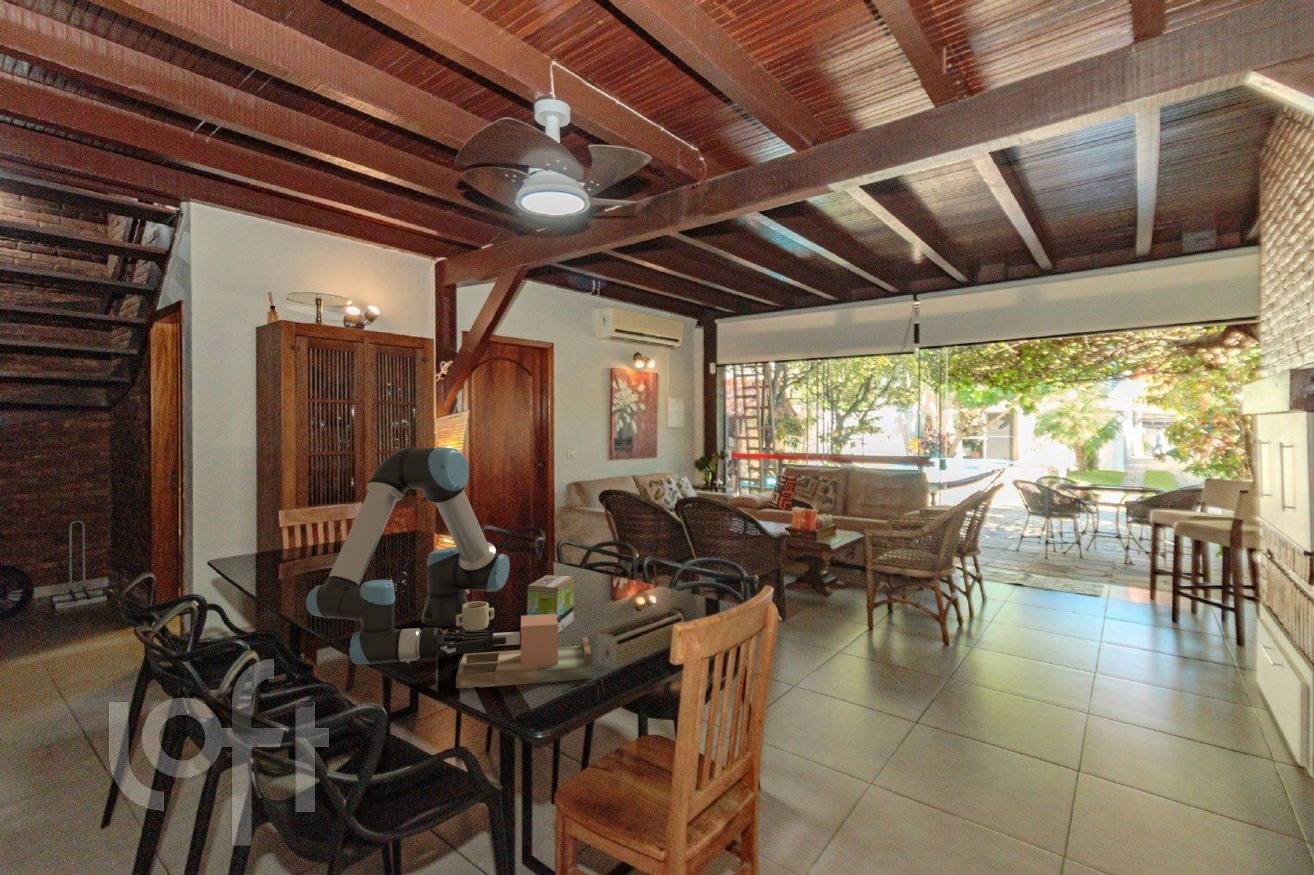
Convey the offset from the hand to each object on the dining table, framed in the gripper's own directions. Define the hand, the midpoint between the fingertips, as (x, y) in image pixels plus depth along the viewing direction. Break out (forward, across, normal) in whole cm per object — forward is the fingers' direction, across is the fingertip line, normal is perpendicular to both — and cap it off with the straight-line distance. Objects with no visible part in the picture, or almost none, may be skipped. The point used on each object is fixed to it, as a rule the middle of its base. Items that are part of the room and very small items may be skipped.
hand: (519, 637), depth 152 cm
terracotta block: (+5, -1, -6) cm, 8 cm away
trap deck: (+2, -1, -9) cm, 9 cm away
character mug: (-13, -18, -9) cm, 24 cm away
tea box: (+8, -35, -9) cm, 38 cm away
